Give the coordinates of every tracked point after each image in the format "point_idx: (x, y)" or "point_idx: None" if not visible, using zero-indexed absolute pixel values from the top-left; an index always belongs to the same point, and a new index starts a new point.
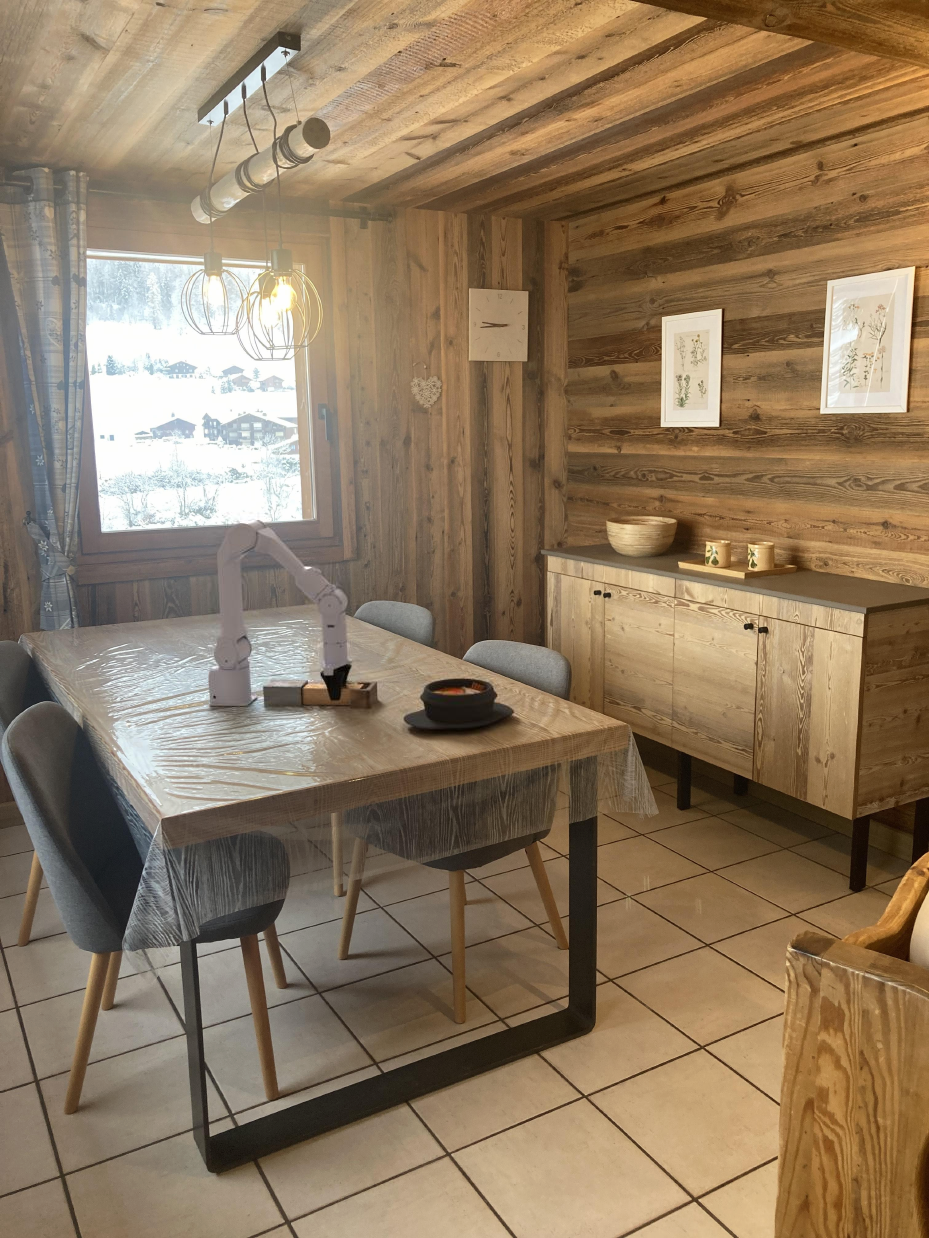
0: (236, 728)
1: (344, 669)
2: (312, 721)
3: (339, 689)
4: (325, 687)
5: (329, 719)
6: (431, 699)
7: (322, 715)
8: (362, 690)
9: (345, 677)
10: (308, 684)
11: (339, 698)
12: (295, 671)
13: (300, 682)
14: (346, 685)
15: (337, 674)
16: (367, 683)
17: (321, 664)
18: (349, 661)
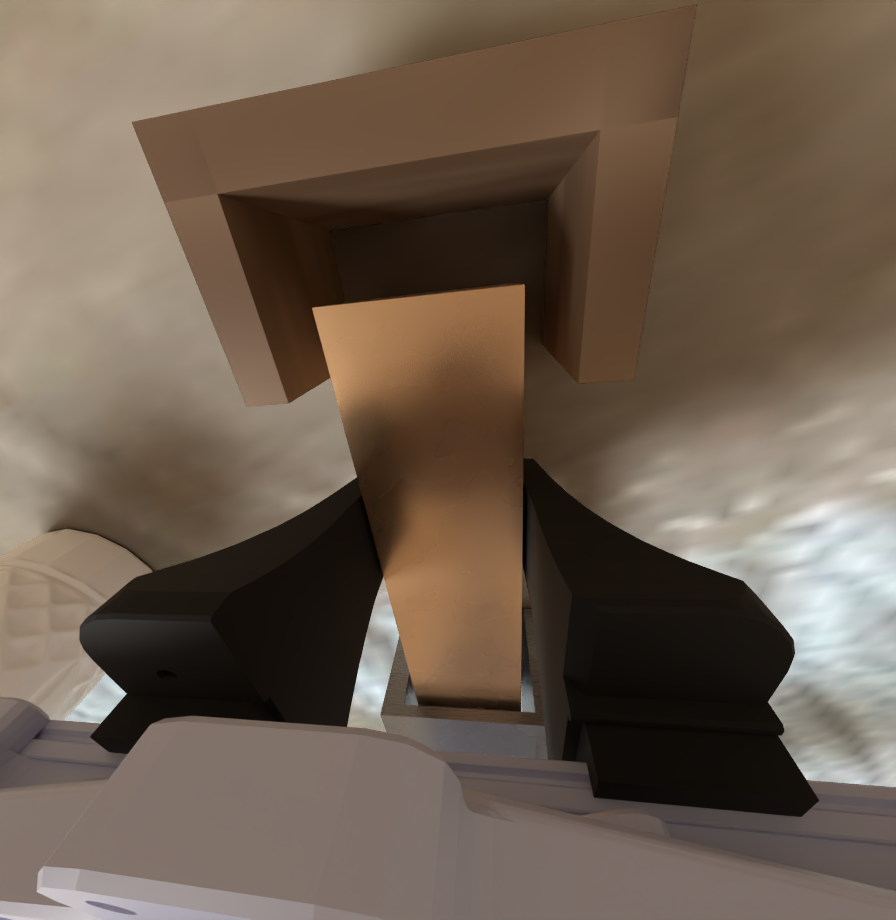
0: (861, 730)
1: (281, 630)
2: (876, 500)
3: (572, 499)
4: (494, 606)
5: (868, 410)
6: None
7: (736, 480)
8: (666, 181)
9: (327, 540)
10: (430, 690)
11: (535, 461)
12: (92, 697)
13: (444, 733)
14: (403, 478)
15: (777, 682)
16: (251, 270)
17: (69, 711)
18: (444, 917)
